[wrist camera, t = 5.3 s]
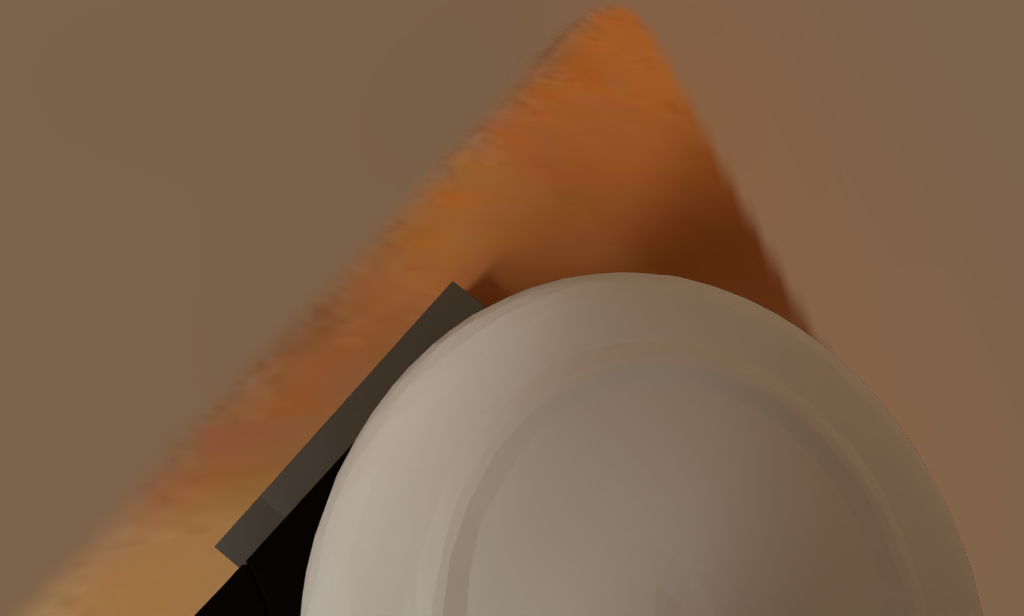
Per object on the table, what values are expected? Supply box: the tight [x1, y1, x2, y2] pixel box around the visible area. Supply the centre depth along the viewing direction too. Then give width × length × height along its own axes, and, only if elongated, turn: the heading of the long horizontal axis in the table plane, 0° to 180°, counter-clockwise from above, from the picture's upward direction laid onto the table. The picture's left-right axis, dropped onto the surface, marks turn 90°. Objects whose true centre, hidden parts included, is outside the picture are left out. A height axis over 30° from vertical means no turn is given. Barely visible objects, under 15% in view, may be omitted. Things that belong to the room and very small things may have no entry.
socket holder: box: [215, 281, 486, 567], centre depth 15 cm, size 10×10×2 cm
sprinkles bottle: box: [301, 272, 983, 616], centre depth 9 cm, size 5×5×13 cm
